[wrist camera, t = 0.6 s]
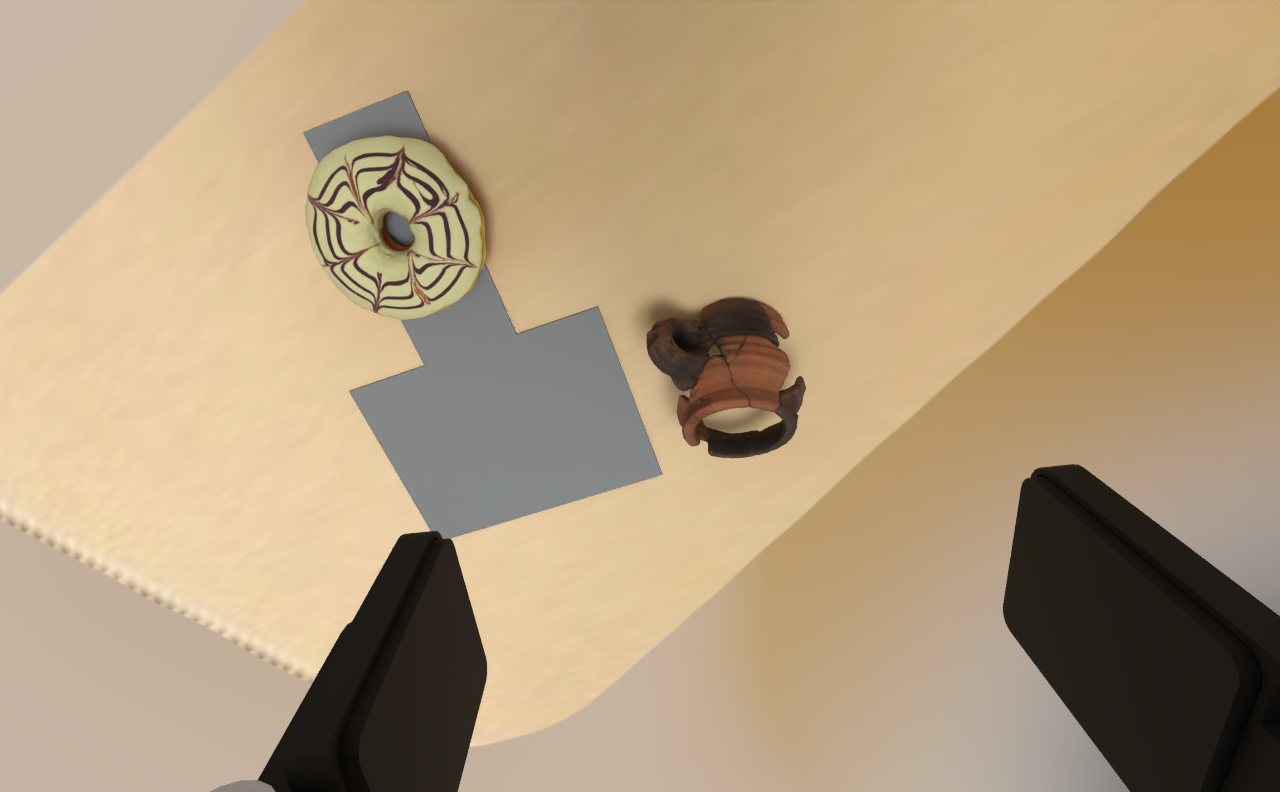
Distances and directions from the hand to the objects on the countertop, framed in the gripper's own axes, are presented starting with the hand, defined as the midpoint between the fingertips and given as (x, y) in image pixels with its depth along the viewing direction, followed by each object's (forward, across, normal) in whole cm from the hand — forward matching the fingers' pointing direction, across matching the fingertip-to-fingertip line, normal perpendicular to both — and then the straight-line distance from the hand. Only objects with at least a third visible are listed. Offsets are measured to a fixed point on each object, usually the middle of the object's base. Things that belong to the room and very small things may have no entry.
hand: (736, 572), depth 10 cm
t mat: (+33, +14, +5) cm, 36 cm away
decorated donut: (+33, +16, -3) cm, 37 cm away
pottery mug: (+33, -3, +9) cm, 35 cm away
